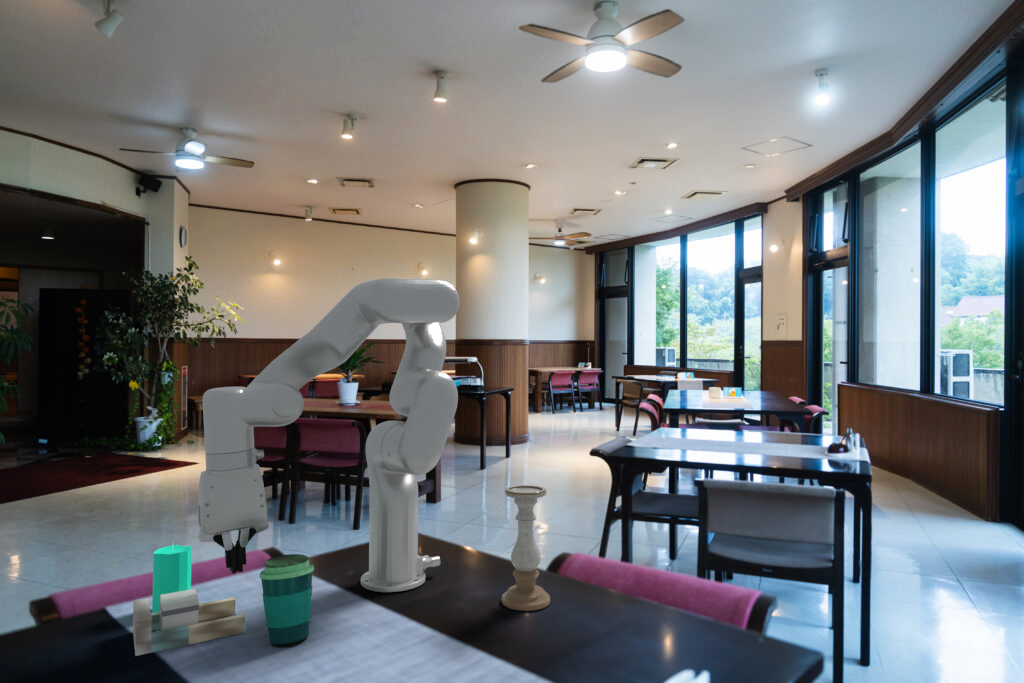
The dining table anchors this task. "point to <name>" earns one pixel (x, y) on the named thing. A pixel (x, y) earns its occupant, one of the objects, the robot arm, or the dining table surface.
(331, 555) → the dining table surface
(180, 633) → the guide channel
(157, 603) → the candle
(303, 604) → the cup
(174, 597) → the striped cream block
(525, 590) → the candle holder
